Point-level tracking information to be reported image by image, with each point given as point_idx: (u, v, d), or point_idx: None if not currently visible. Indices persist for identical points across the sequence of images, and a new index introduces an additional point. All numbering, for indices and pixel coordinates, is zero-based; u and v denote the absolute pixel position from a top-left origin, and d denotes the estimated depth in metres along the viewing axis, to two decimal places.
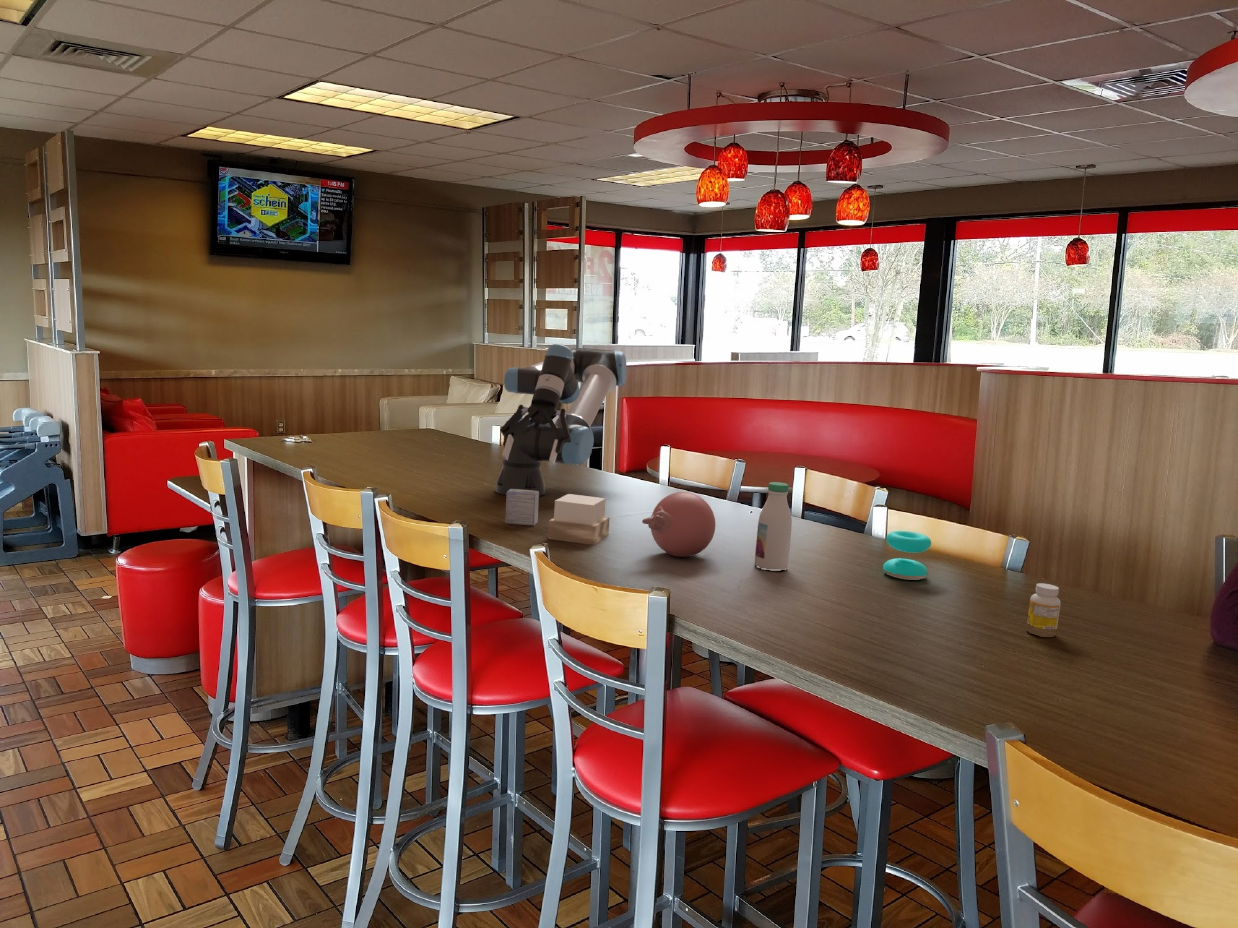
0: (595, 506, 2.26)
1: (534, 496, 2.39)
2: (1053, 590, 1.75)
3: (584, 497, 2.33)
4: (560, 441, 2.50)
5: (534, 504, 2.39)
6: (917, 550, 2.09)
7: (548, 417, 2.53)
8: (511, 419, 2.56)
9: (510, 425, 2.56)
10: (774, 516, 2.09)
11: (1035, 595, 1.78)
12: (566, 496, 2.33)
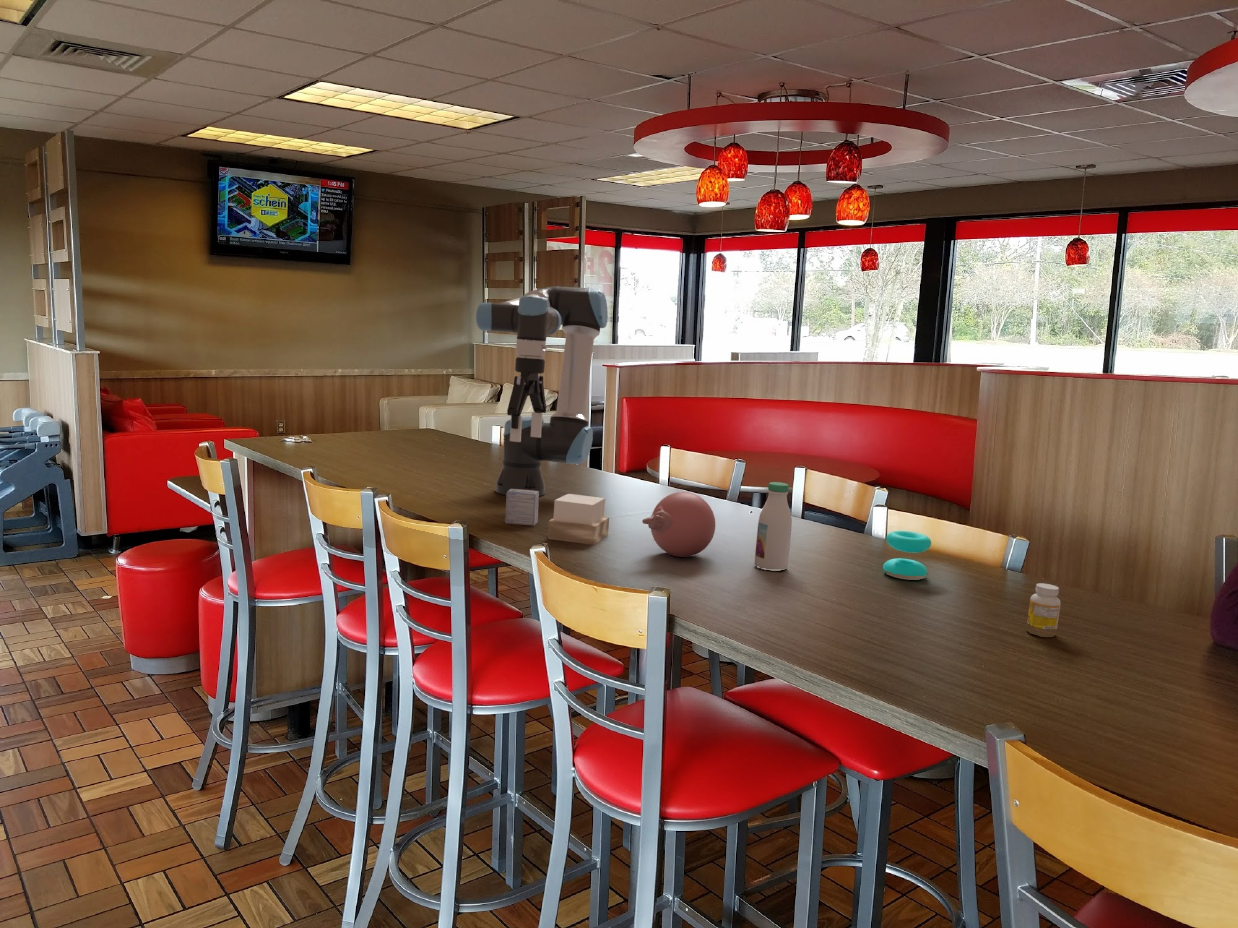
0: (594, 505, 2.26)
1: (534, 496, 2.39)
2: (1053, 590, 1.75)
3: (584, 497, 2.34)
4: None
5: (534, 504, 2.39)
6: (917, 550, 2.09)
7: (538, 389, 2.40)
8: (520, 397, 2.30)
9: None
10: (774, 516, 2.09)
11: (1035, 595, 1.78)
12: (566, 496, 2.33)
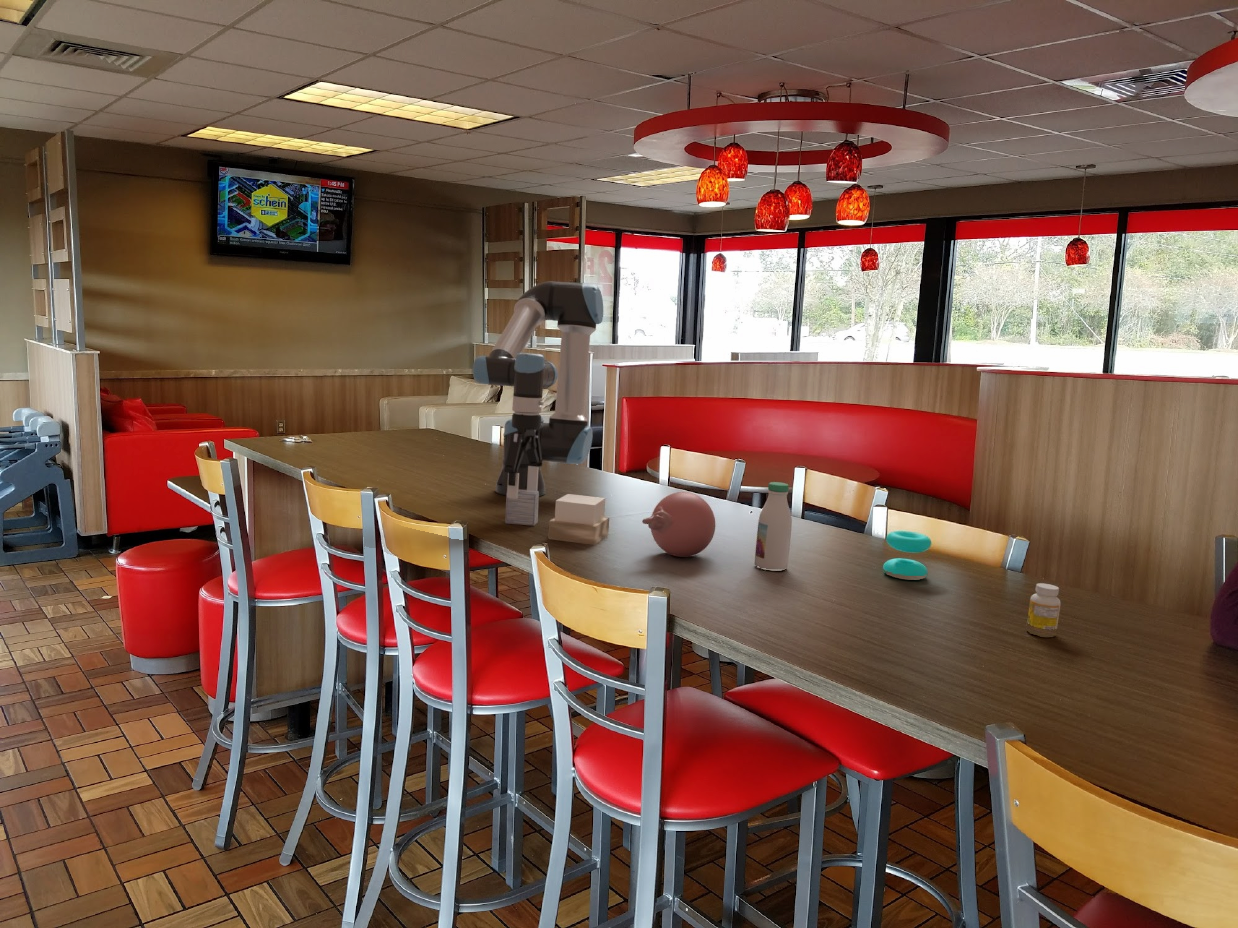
0: (596, 506, 2.26)
1: (534, 496, 2.39)
2: (1053, 590, 1.75)
3: (584, 497, 2.34)
4: (537, 466, 2.47)
5: (534, 504, 2.39)
6: (917, 550, 2.09)
7: (535, 444, 2.41)
8: (517, 454, 2.32)
9: None
10: (774, 516, 2.09)
11: (1035, 595, 1.78)
12: (566, 496, 2.33)
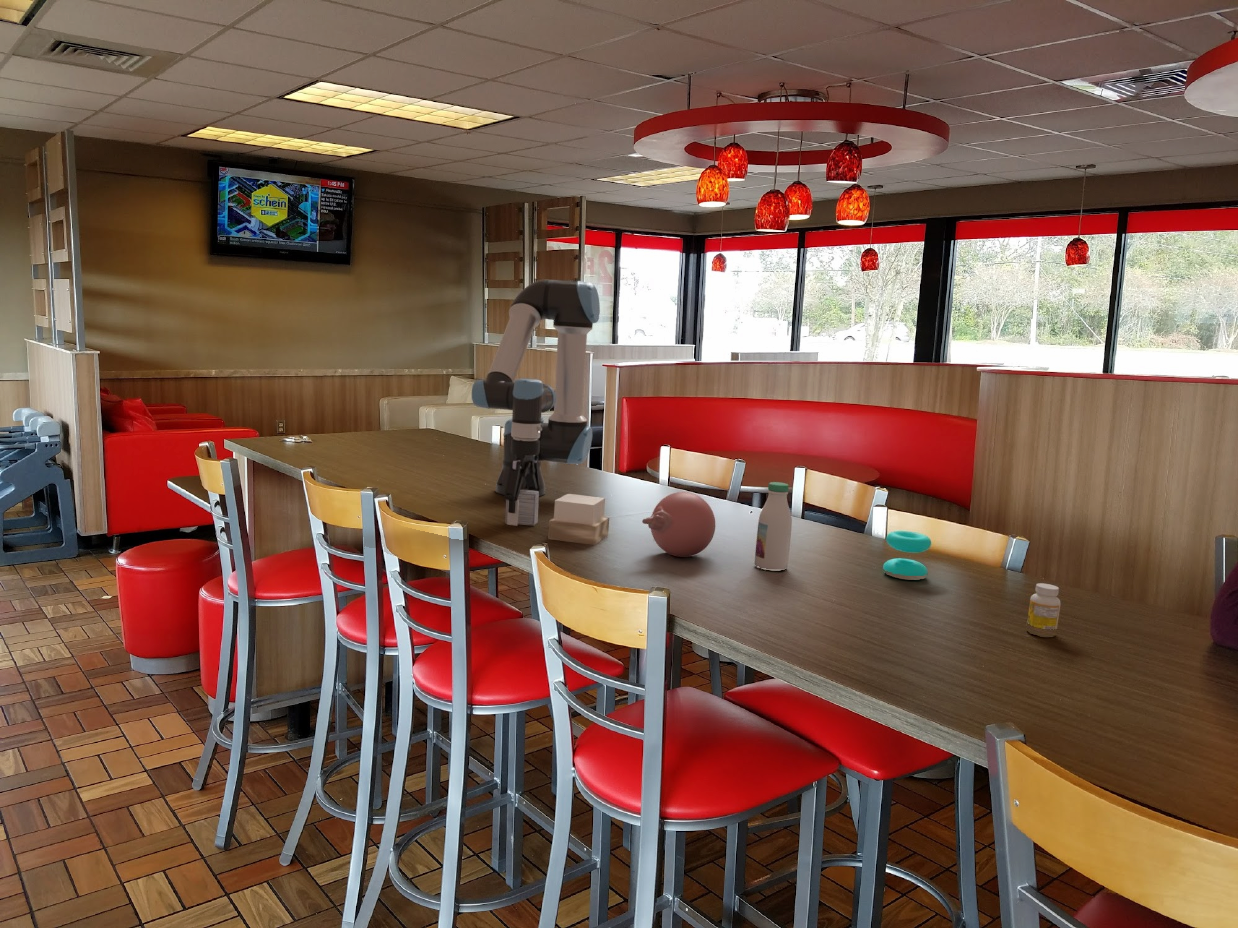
0: (595, 505, 2.26)
1: (534, 496, 2.39)
2: (1053, 590, 1.75)
3: (584, 497, 2.33)
4: None
5: (534, 504, 2.39)
6: (917, 550, 2.09)
7: (534, 469, 2.43)
8: (517, 482, 2.33)
9: None
10: (774, 516, 2.09)
11: (1035, 595, 1.78)
12: (566, 496, 2.33)
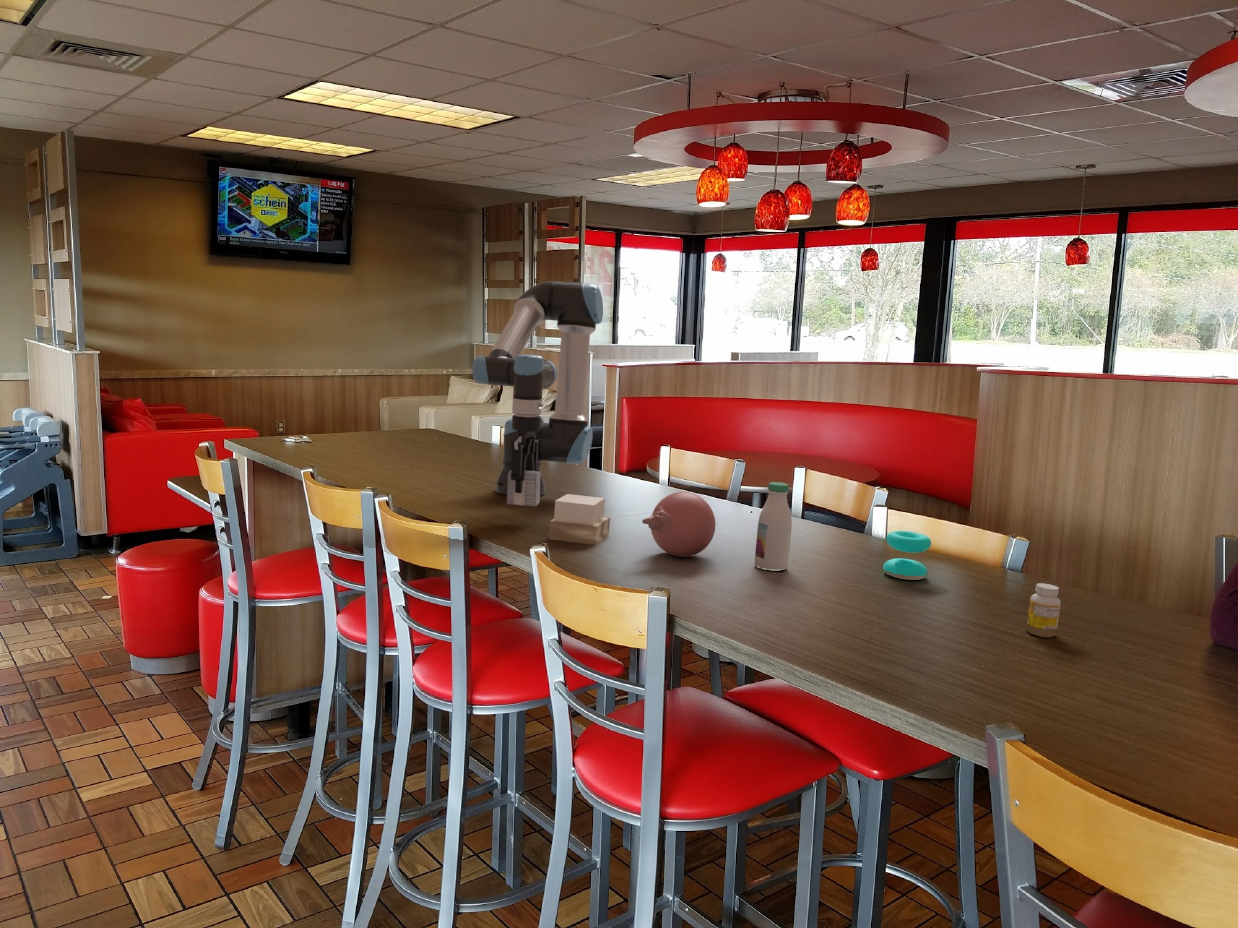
0: (595, 506, 2.26)
1: (535, 477, 2.38)
2: (1053, 590, 1.75)
3: (583, 497, 2.33)
4: None
5: (535, 485, 2.39)
6: (917, 550, 2.09)
7: (534, 448, 2.41)
8: (521, 462, 2.35)
9: None
10: (774, 516, 2.09)
11: (1035, 595, 1.78)
12: (565, 496, 2.33)
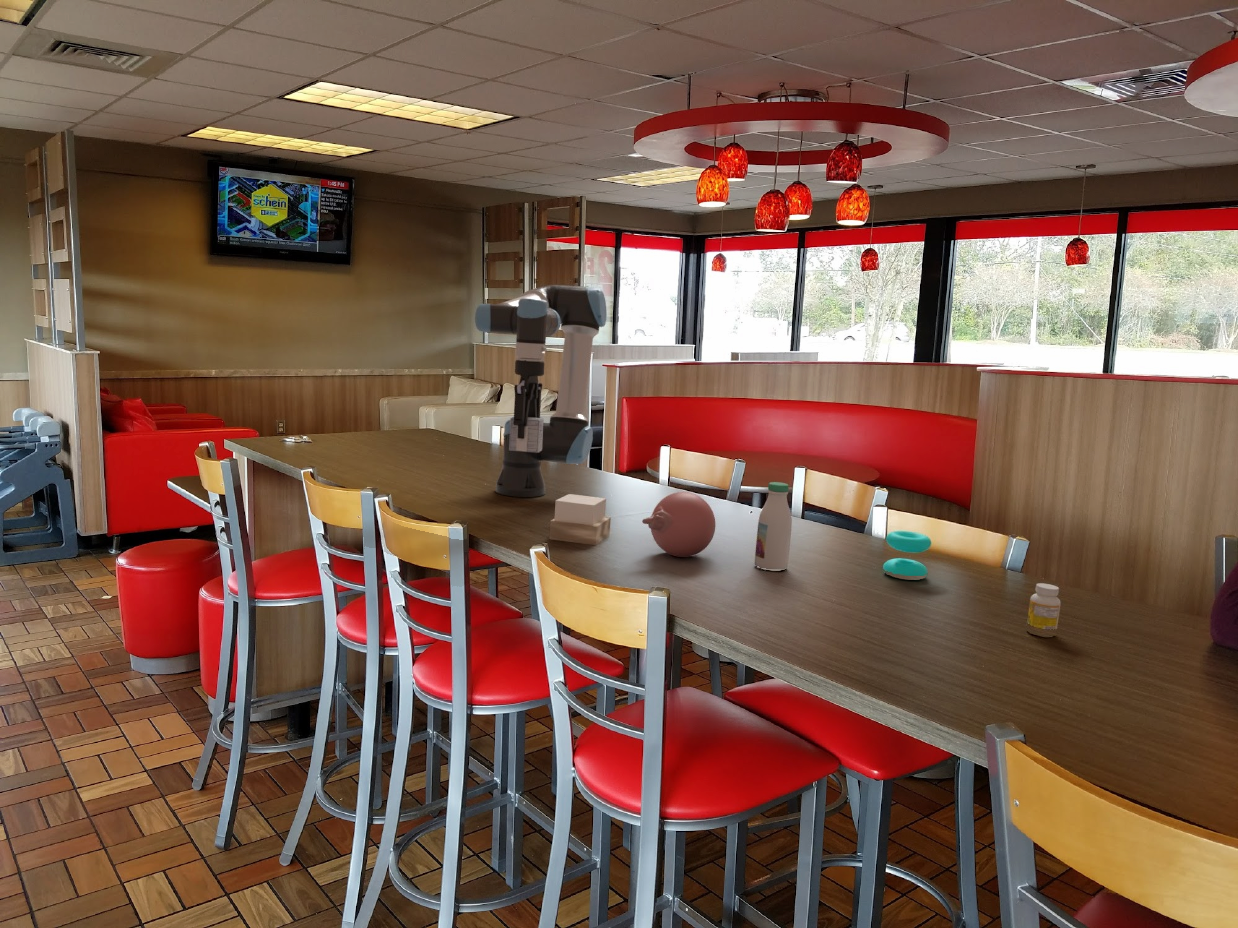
0: (595, 506, 2.26)
1: (538, 422, 2.36)
2: (1053, 590, 1.75)
3: (585, 497, 2.33)
4: None
5: (538, 430, 2.36)
6: (917, 550, 2.09)
7: (537, 394, 2.39)
8: (524, 406, 2.32)
9: None
10: (774, 516, 2.09)
11: (1035, 595, 1.78)
12: (567, 496, 2.33)
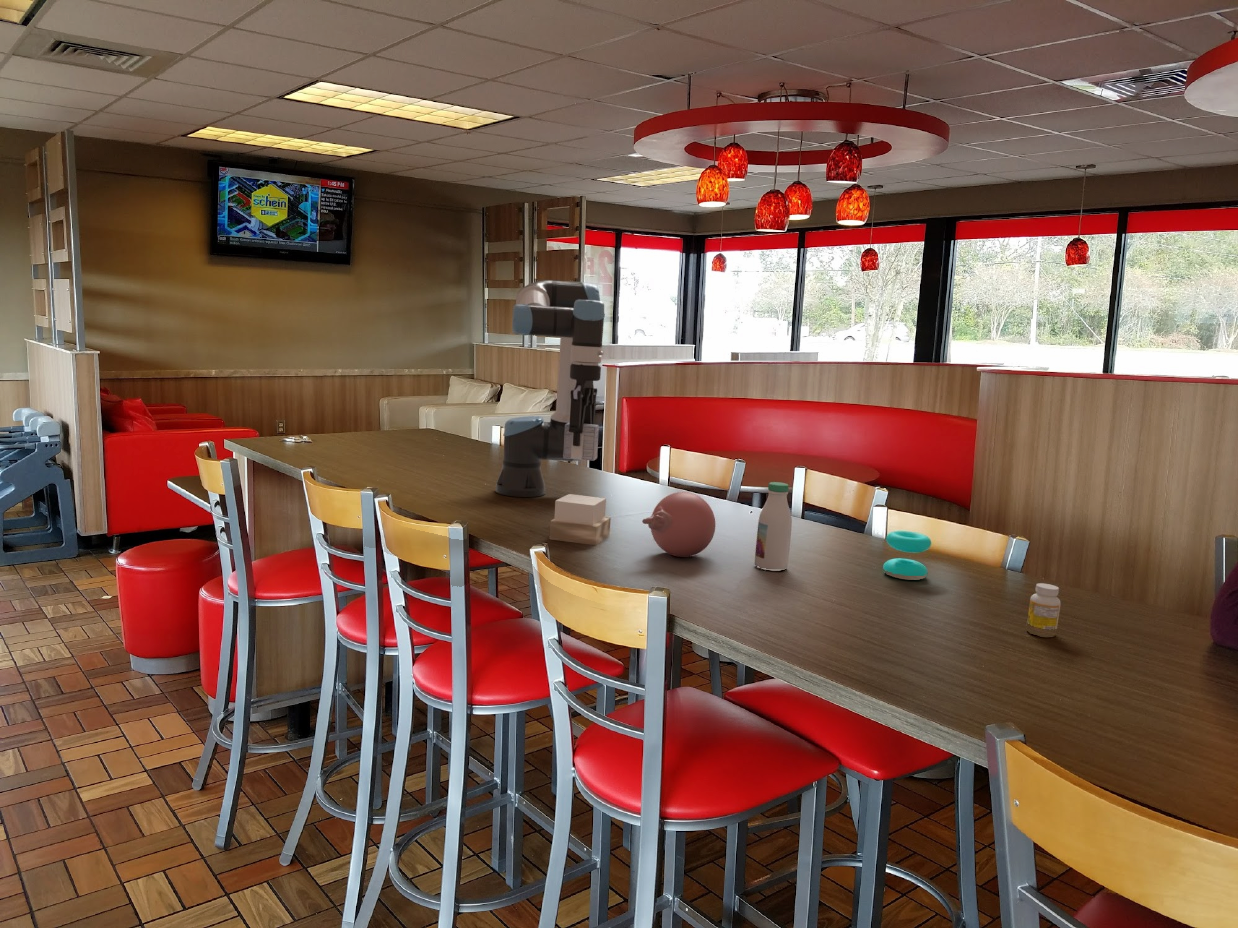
0: (595, 506, 2.26)
1: (594, 429, 2.25)
2: (1053, 590, 1.75)
3: (585, 497, 2.33)
4: None
5: (594, 437, 2.26)
6: (917, 550, 2.09)
7: (592, 399, 2.28)
8: (580, 412, 2.22)
9: None
10: (774, 516, 2.09)
11: (1035, 595, 1.78)
12: (566, 496, 2.33)
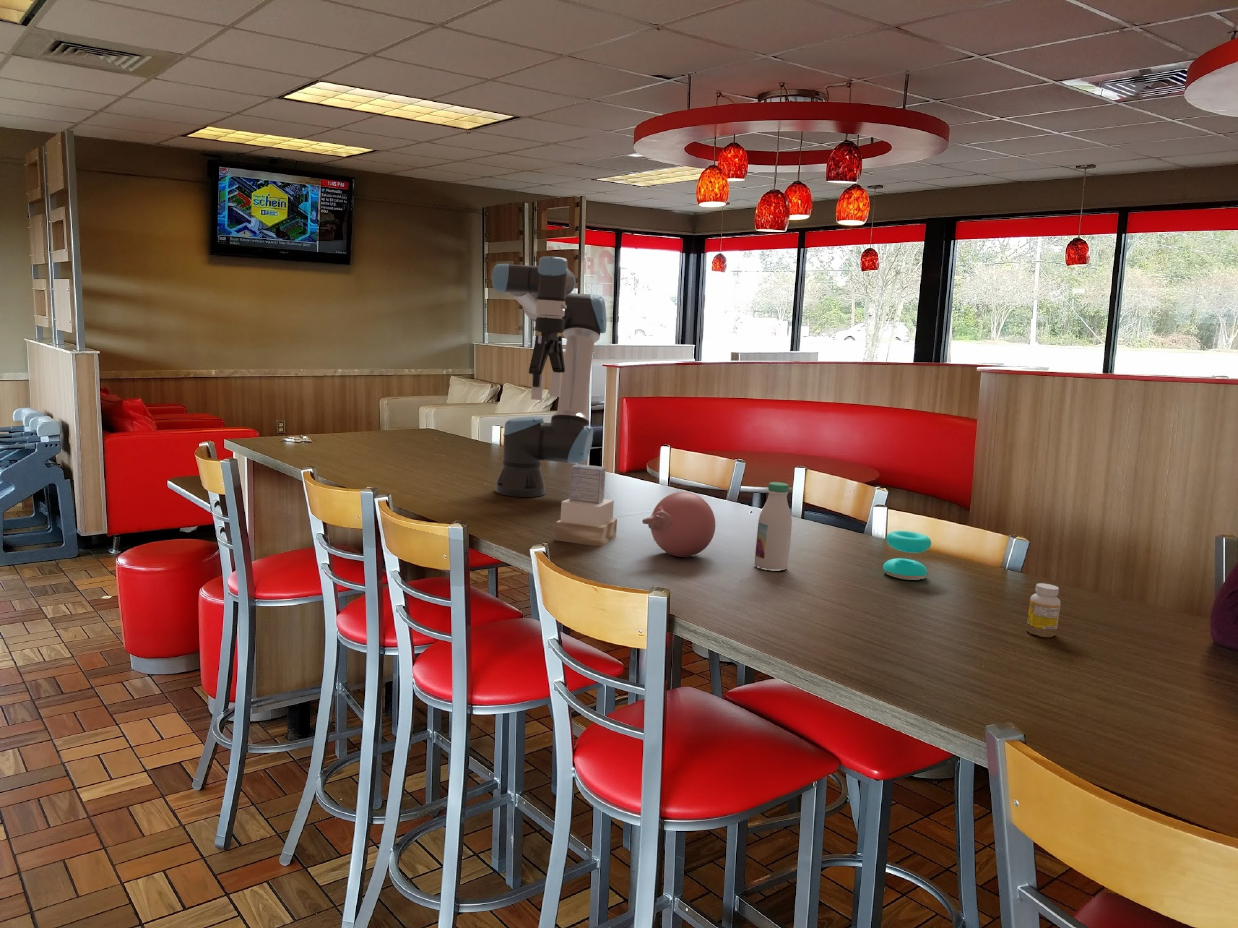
0: (601, 508, 2.24)
1: (599, 472, 2.25)
2: (1053, 590, 1.75)
3: None
4: (560, 373, 2.51)
5: (599, 480, 2.26)
6: (917, 550, 2.09)
7: (558, 349, 2.45)
8: (541, 356, 2.35)
9: None
10: (774, 516, 2.09)
11: (1035, 595, 1.78)
12: None
